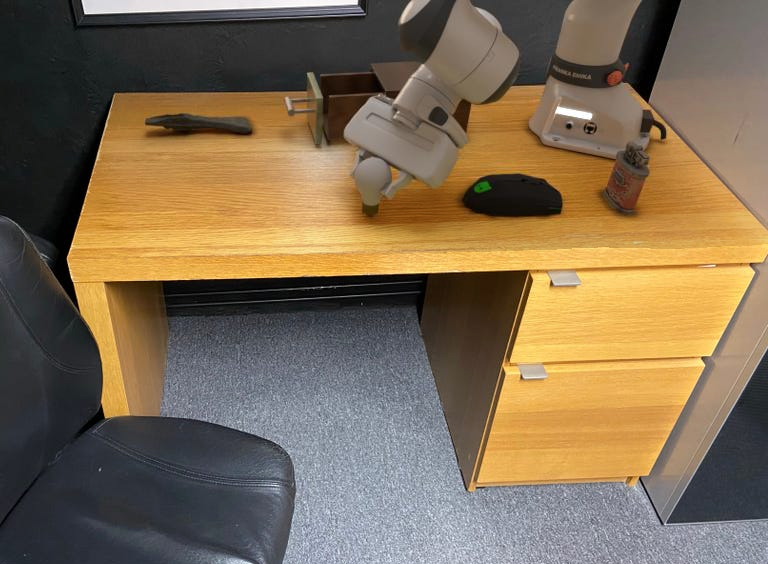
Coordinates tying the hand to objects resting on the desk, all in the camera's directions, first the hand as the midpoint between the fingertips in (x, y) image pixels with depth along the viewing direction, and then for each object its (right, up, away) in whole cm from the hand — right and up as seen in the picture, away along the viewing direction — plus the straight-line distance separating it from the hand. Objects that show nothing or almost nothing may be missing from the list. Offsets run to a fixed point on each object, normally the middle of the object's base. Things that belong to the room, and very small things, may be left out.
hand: (369, 187), depth 110 cm
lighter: (+43, -1, +7) cm, 43 cm away
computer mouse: (+25, 0, +8) cm, 26 cm away
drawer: (-3, +18, +26) cm, 32 cm away
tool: (-31, +19, +28) cm, 46 cm away
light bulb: (+1, -4, +4) cm, 6 cm away
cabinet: (+12, +19, +28) cm, 36 cm away
